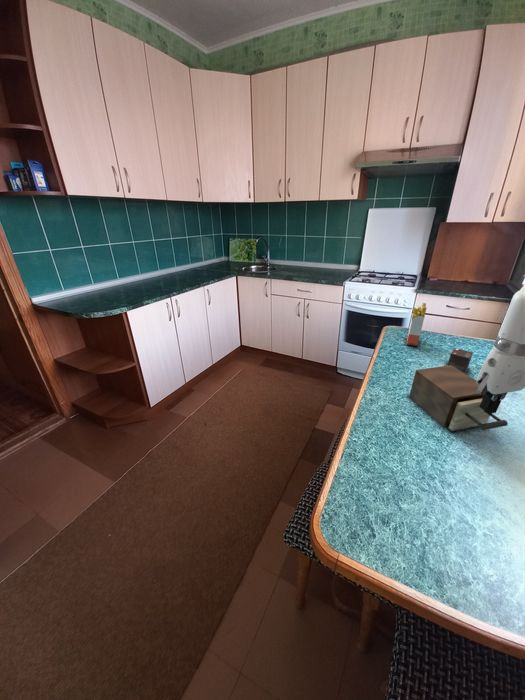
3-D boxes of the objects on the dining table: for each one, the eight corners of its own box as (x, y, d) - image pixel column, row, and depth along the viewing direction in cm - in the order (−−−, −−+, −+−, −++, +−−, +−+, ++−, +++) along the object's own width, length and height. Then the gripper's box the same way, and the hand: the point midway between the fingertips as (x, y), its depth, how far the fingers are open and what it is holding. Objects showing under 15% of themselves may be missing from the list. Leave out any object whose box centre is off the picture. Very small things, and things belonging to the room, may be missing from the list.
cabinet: (480, 421, 83) (493, 391, 79) (442, 428, 81) (453, 397, 76) (441, 392, 96) (450, 364, 91) (408, 398, 94) (415, 369, 89)
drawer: (506, 439, 76) (519, 412, 72) (470, 447, 74) (481, 420, 70) (448, 396, 93) (456, 372, 89) (417, 401, 91) (424, 377, 87)
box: (463, 376, 104) (470, 358, 101) (445, 370, 108) (450, 353, 105) (467, 369, 108) (473, 352, 105) (449, 364, 112) (454, 347, 109)
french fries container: (404, 347, 126) (413, 307, 117) (406, 337, 134) (414, 300, 126) (416, 349, 124) (426, 309, 116) (417, 339, 132) (426, 301, 124)
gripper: (504, 356, 61) (475, 424, 69) (559, 349, 63) (525, 415, 72) (473, 341, 67) (450, 405, 75) (525, 335, 70) (497, 397, 78)
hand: (487, 409), depth 74 cm, fingers closed
